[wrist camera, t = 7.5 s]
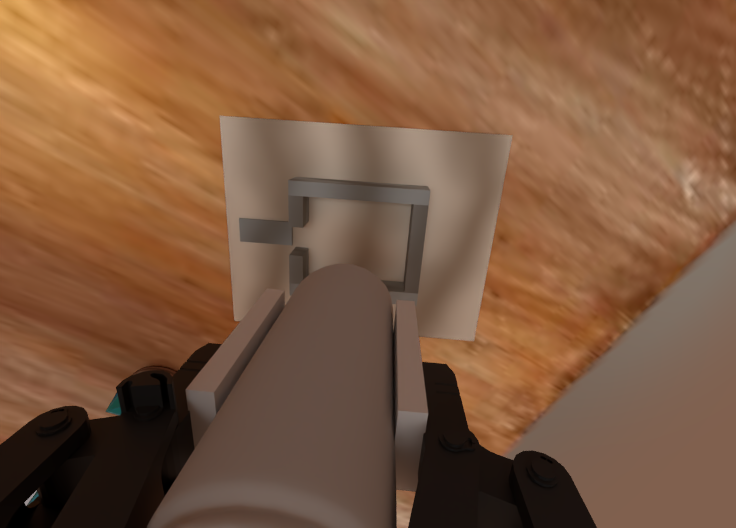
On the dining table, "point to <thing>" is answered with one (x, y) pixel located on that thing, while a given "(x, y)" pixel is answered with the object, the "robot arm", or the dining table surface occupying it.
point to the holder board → (364, 211)
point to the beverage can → (303, 420)
